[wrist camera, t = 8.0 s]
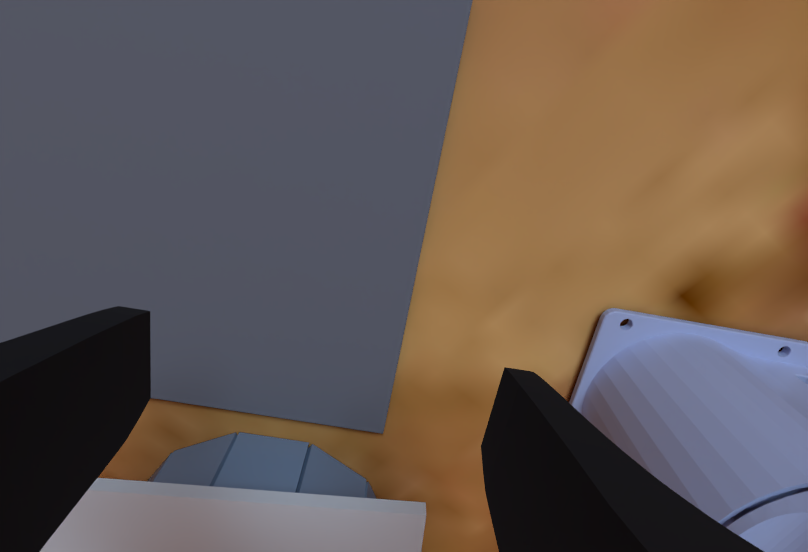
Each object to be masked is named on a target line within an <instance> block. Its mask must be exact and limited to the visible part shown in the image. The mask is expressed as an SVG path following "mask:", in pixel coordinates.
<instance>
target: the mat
mask: <svg viewBox="0 0 808 552" xmlns="http://www.w3.org/2000/svg"><path fill="white" fill-rule="evenodd" d="M471 5H472V0H0V343H1V342H4V341H8V340H11V339H14V338H17V337H20V336H23V335H26V334H29V333H32V332H35V331H38V330H41V329H44V328H47V327H50V326H53V325H56V324H59V323H62V322H65V321H68V320H71V319H74V318H77V317H80V316H84V315H87V314H90V313H93V312H97V311H100V310H104V309H108V308H112V307H117V306H122V307H128V308H134V309H140V310H147V311H150V355H151V398H155V399H161V400H168V401H174V402H181V403H187V404H194V405H200V406H207V407H213V408H220V409H226V410H233V411H239V412H246V413H252V414H259V415H265V416H272V417H278V418H285V419H291V420H298V421H304V422H311V423H317V424H324V425H330V426H337V427H343V428H350V429H356V430H363V431H369V432H376V433H382V434H383V431H384V427H385V422H386V417H387V412H388V407H389V402H390V397H391V393H392V388H393V383H394V378H395V373H396V368H397V363H398V359H399V354H400V349H401V344H402V339H403V334H404V330H405V325H406V320H407V315H408V310H409V305H410V300H411V296H412V291H413V286H414V281H415V276H416V271H417V267H418V262H419V257H420V252H421V247H422V242H423V237H424V233H425V228H426V223H427V218H428V213H429V208H430V203H431V199H432V194H433V189H434V184H435V179H436V174H437V170H438V165H439V160H440V155H441V150H442V145H443V140H444V136H445V131H446V126H447V121H448V116H449V111H450V106H451V102H452V97H453V92H454V87H455V82H456V77H457V73H458V68H459V63H460V58H461V53H462V48H463V43H464V39H465V34H466V29H467V24H468V19H469V14H470V10H471Z"/></svg>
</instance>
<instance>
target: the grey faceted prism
mask: <svg viewBox="0 0 808 552" xmlns="http://www.w3.org/2000/svg"><path fill="white" fill-rule="evenodd" d="M308 446H309V443H307V442H301V441H294V440H288V439H281V438H274V437H268V436H261V435H255V434H248V433H241V432H239V434H238V435H237V434H236V433H232V434H229V435H226V436H222V437H219V438H216V439H212V440H209V441H206V442H202V443H199V444H196V445H192V446H189V447H186V448H182V449H179V450H176V451H174V452H173V453H171V454H170V455H169V456H168V457H167V459H166V460H165V461H164V462H163V463H162V464H161V466H160V467H159V468H158V469H157V470H156V471H155V473H154V474H153V475H152V476H151V477H150V479H149V480H148V481H147V482H160V483H173V484H186V485H200V486H213V487H226V488H240V489H253V490H266V491H279V492H293V493H306V494H319V495H332V496H346V497H359V498H372V499H376V496H375V494H374V492H373V490H372V488H371V486H370V484H369V482H366V479H365V478H363V477H362V476H360V475H359V474H357V473H356V472H354V471H353V470H351V469H350V468H348V467H347V466H345V465H344V464H342V463H340V462H339V461H337V460H336V459H334V458H333V457H331V456H330V455H328V454H327V453H325V452H324V451H322V450H321V449H319V448H318V447H316V446H315V445H313V444H312V445H311V446H310V447H309V448H308Z"/></svg>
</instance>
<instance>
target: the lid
mask: <svg viewBox="0 0 808 552" xmlns="http://www.w3.org/2000/svg"><path fill="white" fill-rule="evenodd" d="M425 520H426V503H425V502H412V501H399V500H386V499H372V498H359V497H346V496H332V495H319V494H306V493H293V492H279V491H266V490H253V489H240V488H226V487H213V486H200V485H186V484H173V483H160V482H147V481H133V480H120V479H107V478H97V479H96V480H95V481H94V483H93V484H92V485H91V486H90V488H89V489H88V490H87V492H86V493H85V494H84V495H83V497H82V498H81V499H80V501H79V502H78V503H77V504H76V506H75V507H74V508H73V509H72V511H71V512H70V513H69V515H68V516H67V517H66V518H65V520H64V521H63V522H62V523H61V525H60V526H59V527H58V529H57V530H56V531H55V532H54V534H53V535H52V536H51V537H50V539H49V540H48V541H47V543H46V544H45V545H44V546H43V548H42V549H41V551H40V552H421V548H422V541H423V534H424V527H425Z"/></svg>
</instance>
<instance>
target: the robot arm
mask: <svg viewBox="0 0 808 552" xmlns="http://www.w3.org/2000/svg"><path fill="white" fill-rule="evenodd" d="M624 319H629V321H628V323H627V324H626V325H624V326H620V323H621V322H622V321H623V320H624ZM782 347H784V348H783V349H782V351H780V352H778V351H779V349H780V348H782ZM150 398H151V355H150V311H147V310H140V309H134V308H128V307H122V306H117V307H112V308H108V309H104V310H100V311H97V312H93V313H90V314H87V315H84V316H80V317H77V318H74V319H71V320H68V321H65V322H62V323H59V324H56V325H53V326H50V327H47V328H44V329H41V330H38V331H35V332H32V333H29V334H26V335H23V336H20V337H17V338H14V339H11V340H8V341H4V342H1V343H0V552H40V551H41V549H42V548H43V546H44V545H45V544H46V543H47V541H48V540H49V539H50V537H51V536H52V535H53V534H54V532H55V531H56V530H57V529H58V527H59V526H60V525H61V523H62V522H63V521H64V520H65V518H66V517H67V516H68V515H69V513H70V512H71V511H72V509H73V508H74V507H75V506H76V504H77V503H78V502H79V501H80V499H81V498H82V497H83V495H84V494H85V493H86V492H87V490H88V489H89V488H90V486H91V485H92V484H93V483H94V481H95V480H96V479H97V478H98V476H99V475H100V474H101V472H102V471H103V470H104V469H105V467H106V466H107V465H108V463H109V462H110V461H111V459H112V458H113V457H114V456H115V454H116V453H117V452H118V450H119V449H120V448H121V446H122V445H123V444H124V442H125V441H126V439H127V438H128V436H129V434H130V433H131V431H132V429H133V428H134V426H135V424H136V423H137V421H138V419H139V418H140V416H141V414H142V412H143V410H144V409H145V407H146V405H147V403H148V401H149V400H150ZM481 451H482V463H483V474H484V483H485V492H486V496H487V501H488V506H489V510H490V514H491V519H492V523H493V528H494V532H495V536H496V540H497V545H498V549H499V552H808V342H806V341H801V340H795V339H789V338H783V337H778V336H772V335H766V334H760V333H755V332H749V331H743V330H737V329H732V328H726V327H720V326H714V325H709V324H703V323H697V322H692V321H686V320H680V319H674V318H669V317H663V316H657V315H651V314H646V313H640V312H634V311H628V310H623V309H617V308H610V309H608V310H606V311H604V312H603V313H602V315H601V316H600V319H599V322H598V324H597V327H596V330H595V333H594V335H593V338H592V341H591V344H590V346H589V349H588V352H587V355H586V357H585V360H584V363H583V366H582V368H581V371H580V374H579V377H578V379H577V382H576V385H575V388H574V390H573V393H572V396H571V399H570V401H569V402H567V401H566V400H565V399H564V398H563V397H562V396H561V395H560V394H559V393H558V392H557V391H555V390H554V389H553V388H552V387H551V386H550V385H549V384H548V383H547V382H545V381H544V380H543V379H542V378H541V377H539V376H538V375H537V374H535V373H534V372H531V371H524V370H518V369H512V368H504V371H503V375H502V378H501V381H500V385H499V388H498V391H497V395H496V398H495V401H494V405H493V408H492V411H491V415H490V418H489V421H488V425H487V428H486V431H485V435H484V438H483V441H482V445H481Z"/></svg>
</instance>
